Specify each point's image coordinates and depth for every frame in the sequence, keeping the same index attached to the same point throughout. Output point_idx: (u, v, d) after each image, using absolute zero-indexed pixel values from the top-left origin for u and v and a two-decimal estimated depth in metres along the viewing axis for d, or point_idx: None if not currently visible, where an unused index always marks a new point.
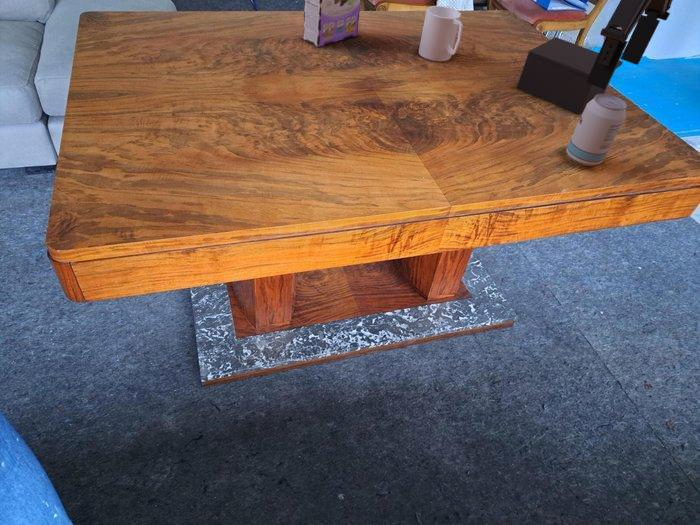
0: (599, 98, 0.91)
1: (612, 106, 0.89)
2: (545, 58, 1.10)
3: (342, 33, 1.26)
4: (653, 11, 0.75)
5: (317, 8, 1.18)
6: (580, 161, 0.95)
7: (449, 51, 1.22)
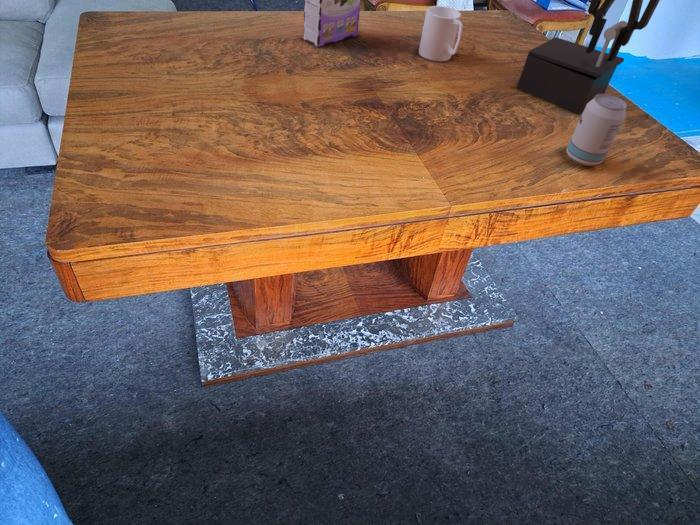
0: (599, 98, 0.91)
1: (612, 106, 0.89)
2: (545, 57, 1.10)
3: (342, 33, 1.26)
4: (602, 14, 1.05)
5: (317, 8, 1.18)
6: (580, 161, 0.95)
7: (449, 51, 1.22)
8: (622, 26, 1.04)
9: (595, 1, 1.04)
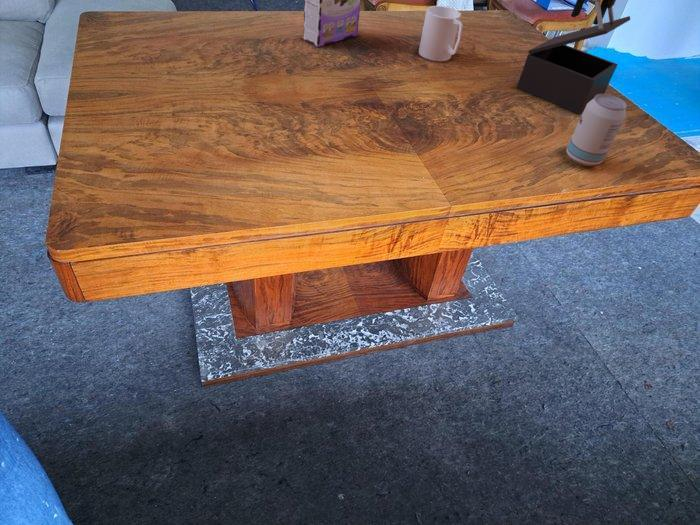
0: (599, 98, 0.91)
1: (612, 106, 0.89)
2: (546, 47, 1.09)
3: (342, 33, 1.26)
4: None
5: (317, 8, 1.18)
6: (580, 161, 0.95)
7: (449, 51, 1.22)
8: None
9: None
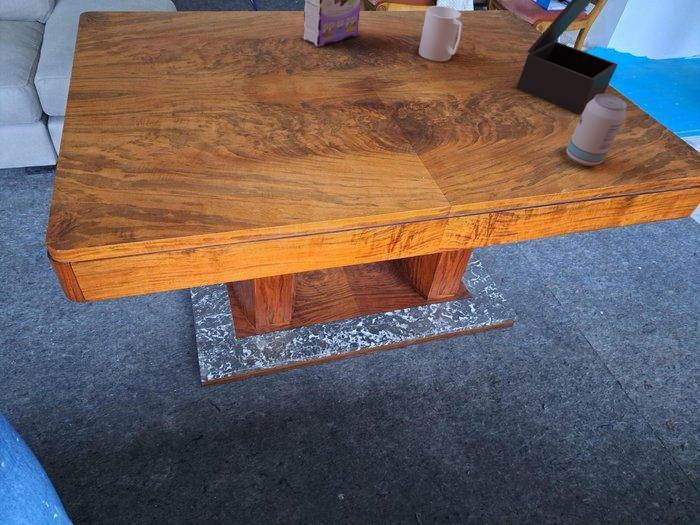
0: (599, 98, 0.91)
1: (612, 106, 0.89)
2: (540, 37, 1.09)
3: (342, 33, 1.26)
4: None
5: (317, 8, 1.18)
6: (580, 161, 0.95)
7: (449, 51, 1.22)
8: None
9: None
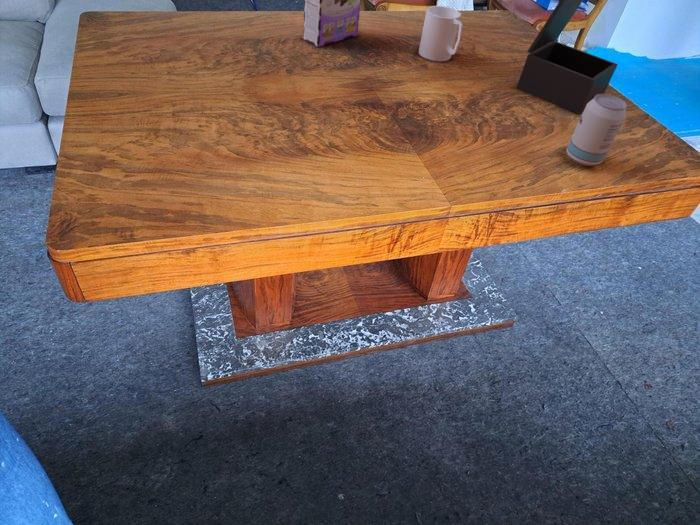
0: (599, 98, 0.91)
1: (612, 106, 0.89)
2: (538, 35, 1.09)
3: (342, 33, 1.26)
4: None
5: (317, 8, 1.18)
6: (580, 161, 0.95)
7: (449, 51, 1.22)
8: None
9: None
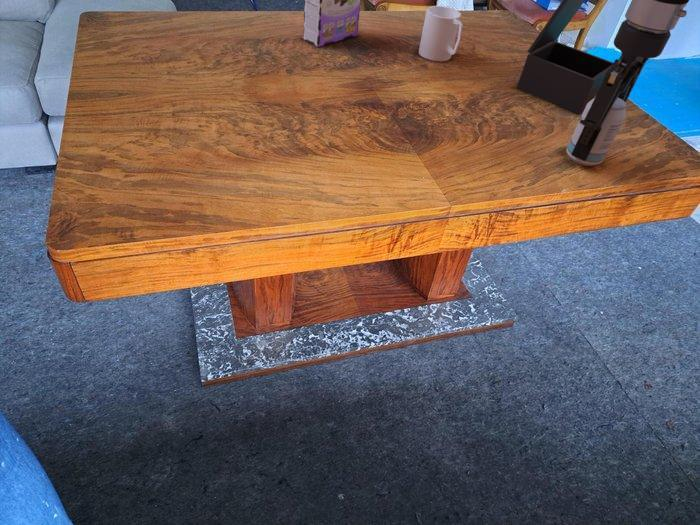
0: None
1: (612, 106, 0.89)
2: (539, 36, 1.09)
3: (342, 33, 1.26)
4: None
5: (317, 8, 1.18)
6: (580, 161, 0.95)
7: (449, 51, 1.22)
8: None
9: (602, 116, 0.86)
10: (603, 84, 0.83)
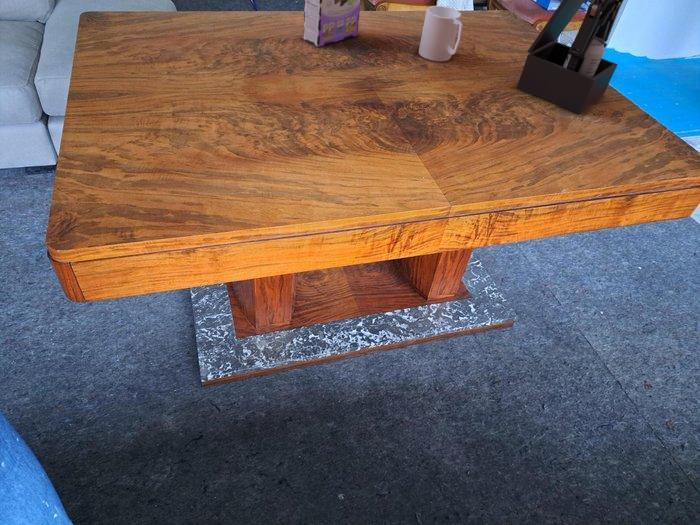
0: None
1: (592, 43, 1.08)
2: (539, 36, 1.09)
3: (342, 33, 1.26)
4: None
5: (317, 8, 1.18)
6: None
7: (449, 51, 1.22)
8: None
9: (585, 45, 1.04)
10: (586, 16, 1.01)
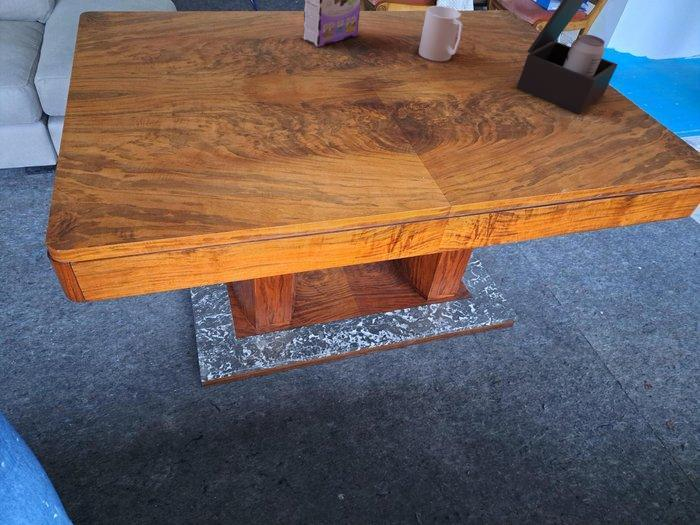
0: (582, 38, 1.10)
1: (592, 43, 1.08)
2: (539, 36, 1.09)
3: (342, 33, 1.26)
4: None
5: (317, 8, 1.18)
6: None
7: (449, 51, 1.22)
8: None
9: None
10: None
